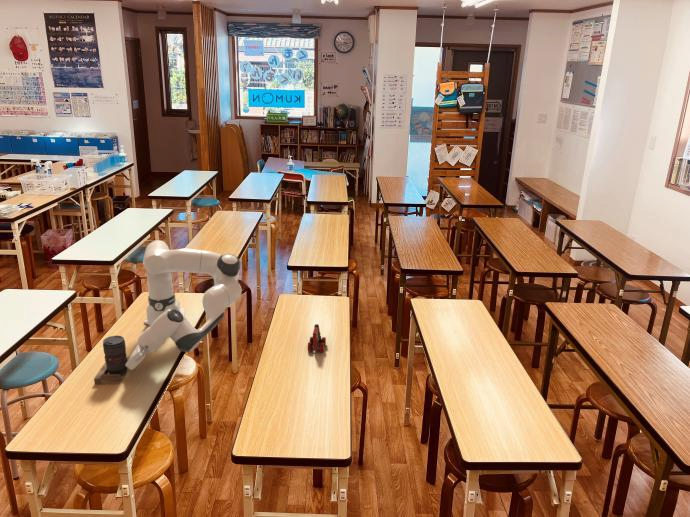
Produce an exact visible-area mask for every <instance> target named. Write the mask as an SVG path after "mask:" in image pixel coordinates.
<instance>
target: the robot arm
mask: <svg viewBox="0 0 690 517" xmlns="http://www.w3.org/2000/svg"><path fill="white" fill-rule="evenodd" d="M143 255H144V256H143V260H142V263H143V267H144V269H145V271H146V280H147V281H146V282H147V283H146V284H147V291H148V298H147V301H148V305H147V306H146V309H145V310H146V319H144V324H146V325H148V327H147V328H145V330H143V331H142V333H141V334H140V335H139V336H138V338H137V339H138V340H137V341H138V342H137V345H136V346H135V347H134V350H133V351H132V352H131V354H130V356H129V357H130V358H129V359H128V361H127V362H126V364H125V366H126V367H127V369H129V370H130V371H133V370H135V369H136V368H137V367H138V366H139V364H141V362H143V360H144V359H145V357H146V356H147V354H149V353H156V352H157V351H158V350H159V349H160V348H161V347H162V346H163V345H164V344H165V343H166V340H167V339H169V338H170V339H171V340H172V341H173V343H174V344H175V346H176V347H177V349H178V350H179V351H180V352H182V353H183V352H184V353H190V352H192V351H193V350H195V349H196V348H197V347H198V346H199V344H200V343H201V342H202V341H203V340H204V339H205V338H206V336H208V335H209V333H211V332H212V331H213V329H214V328H216V326H217V325H218V324H219V323H220V322H221V321H222V320H223V319H224V317H225V309H227V308H229V307H230V306H231V305H232V304H234V303H235V302H236V301H237V300H238V299H239V298H240V297H241V295H242V286H241V284H240V283H239V278H240V277H239V275H240V269H241V262H240V259H239V257H237V256H236V255H234V254H231V253H224V254H221V253H217V252H214V251H212V250H211V251H210V250H206V249H198V248H197V249H196V248H195V249H194V248H188V247H187V248H186V247H184V248H183V247H182V248H179V249H178V248H177V249H170V247H169V246H168V244H167V243H166V242H165V241H163V240H160V239H159V240H158V239H156V240H153V241H151V242H150V243H148V245H147V246H146V248H145V251H144V254H143ZM179 272H180V273H181V272H182V273H193V274H194V273H195V274H203V275H204V274H205V275H210V277H212V278H211V280H210V282H211V284H212V287H210V288H208V289H207V290H206V291H205V292H204V293H203V296H202V307H203V310H204V312H205V315H206V322H205V323H204V324H203V325H202V326H201V327H199V329H196V328H195V327H194V325H193V324H191V322H190V321H189V320H188V318H187V317H186V308H184V307H181V306H180V301H179V300H178V299H177V298H176V295H175V294H176V289H175V290H174V286H173V275H172V274H173V273H179Z"/></svg>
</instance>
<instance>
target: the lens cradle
mask: <svg viewBox="0 0 690 517" xmlns="http://www.w3.org/2000/svg"><path fill="white" fill-rule="evenodd" d="M126 357H127V356H126ZM129 358H130V356H129V357H127V361H128V359H129ZM121 380H122V376H120V374H109V372H108V370H107V367H106V361H105V362H104V363H103V365H102V366H101V368H100V370H99V371H98V372H97V373H96V375H95V376H94V379H93V381H94V385H116V384H117V385H119V384H120V383H121Z"/></svg>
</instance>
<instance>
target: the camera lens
mask: <svg viewBox="0 0 690 517" xmlns="http://www.w3.org/2000/svg"><path fill="white" fill-rule="evenodd" d="M102 343H103V344H102V347H103V353H104V361H105V362H106V367H107V370H108V372H109V373H108V374H120V376H121V377H123V376H124V375H127V372H128V368H127V367H126V366H125V364H126V362H127V351H126V350H127V348H126V347H127V346H126V341H125V338H124V337H123V336H121V335H110V336H108V337H106V338H104V339H103V341H102Z"/></svg>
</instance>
